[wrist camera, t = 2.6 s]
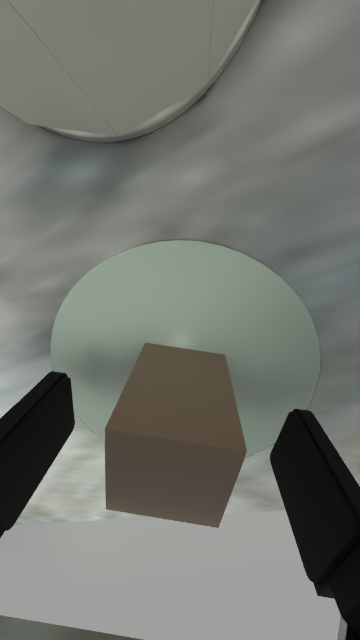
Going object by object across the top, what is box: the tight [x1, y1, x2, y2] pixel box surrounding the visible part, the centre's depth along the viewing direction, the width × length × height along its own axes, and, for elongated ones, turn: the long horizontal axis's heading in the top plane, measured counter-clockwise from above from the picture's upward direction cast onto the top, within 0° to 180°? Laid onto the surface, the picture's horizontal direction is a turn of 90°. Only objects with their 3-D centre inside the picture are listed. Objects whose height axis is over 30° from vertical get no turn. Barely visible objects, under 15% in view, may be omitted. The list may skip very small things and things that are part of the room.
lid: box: [51, 240, 321, 528], centre depth 10 cm, size 14×14×6 cm
